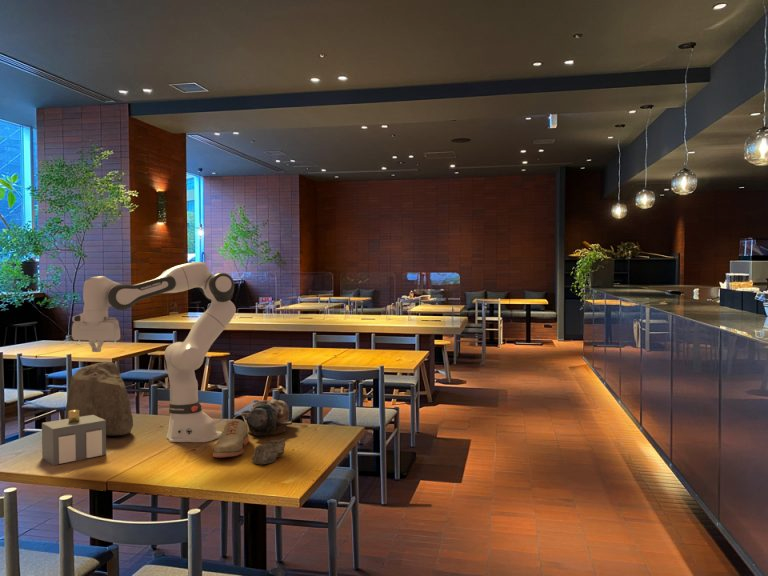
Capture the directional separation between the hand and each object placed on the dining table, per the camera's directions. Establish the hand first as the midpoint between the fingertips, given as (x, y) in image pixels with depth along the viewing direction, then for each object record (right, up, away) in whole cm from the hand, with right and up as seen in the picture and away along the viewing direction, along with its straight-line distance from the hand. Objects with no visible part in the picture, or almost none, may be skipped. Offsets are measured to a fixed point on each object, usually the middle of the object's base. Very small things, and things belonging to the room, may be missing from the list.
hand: (96, 351), depth 237 cm
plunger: (+3, -37, -12) cm, 39 cm away
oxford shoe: (+55, -37, -8) cm, 67 cm away
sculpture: (+64, -37, +20) cm, 76 cm away
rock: (+72, -38, -20) cm, 84 cm away
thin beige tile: (-4, -37, -18) cm, 42 cm away
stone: (-7, -37, +23) cm, 44 cm away
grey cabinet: (-1, -37, -14) cm, 40 cm away
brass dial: (-1, -24, -14) cm, 28 cm away
